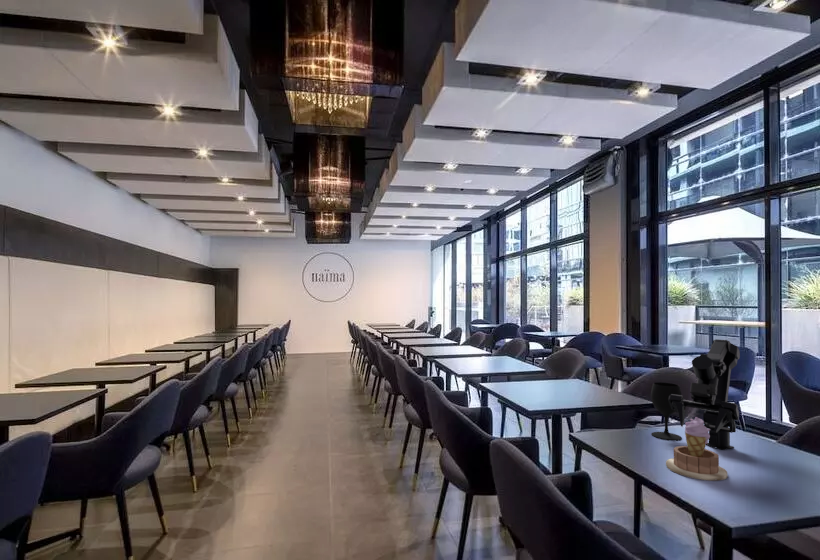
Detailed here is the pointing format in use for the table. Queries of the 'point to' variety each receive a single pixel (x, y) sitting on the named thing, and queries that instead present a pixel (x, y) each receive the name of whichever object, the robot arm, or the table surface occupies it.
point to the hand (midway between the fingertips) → (698, 428)
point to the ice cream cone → (696, 436)
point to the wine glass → (664, 406)
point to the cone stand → (696, 465)
